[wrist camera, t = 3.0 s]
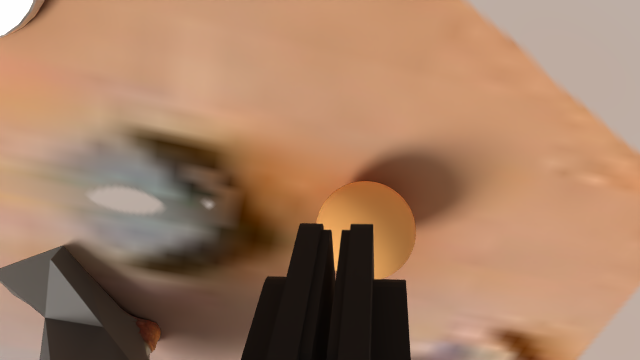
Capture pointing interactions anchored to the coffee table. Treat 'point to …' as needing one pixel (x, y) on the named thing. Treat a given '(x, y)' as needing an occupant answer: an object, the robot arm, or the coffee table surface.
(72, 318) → the dark grey faceted piece
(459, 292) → the coffee table surface
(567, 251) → the coffee table surface
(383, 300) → the robot arm
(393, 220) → the ball
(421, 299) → the coffee table surface
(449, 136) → the coffee table surface
